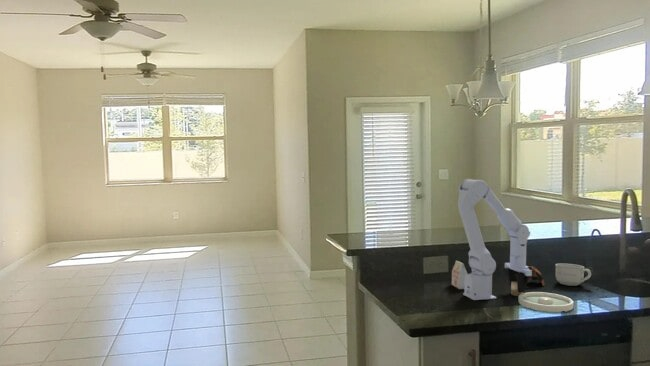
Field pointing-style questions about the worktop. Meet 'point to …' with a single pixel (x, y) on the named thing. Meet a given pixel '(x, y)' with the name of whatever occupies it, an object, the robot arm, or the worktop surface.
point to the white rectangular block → (458, 275)
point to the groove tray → (546, 301)
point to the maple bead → (514, 288)
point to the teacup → (571, 274)
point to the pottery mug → (536, 275)
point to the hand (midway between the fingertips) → (517, 290)
